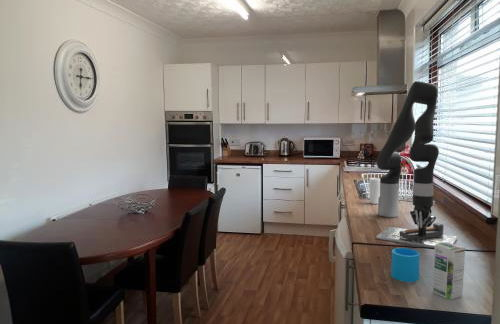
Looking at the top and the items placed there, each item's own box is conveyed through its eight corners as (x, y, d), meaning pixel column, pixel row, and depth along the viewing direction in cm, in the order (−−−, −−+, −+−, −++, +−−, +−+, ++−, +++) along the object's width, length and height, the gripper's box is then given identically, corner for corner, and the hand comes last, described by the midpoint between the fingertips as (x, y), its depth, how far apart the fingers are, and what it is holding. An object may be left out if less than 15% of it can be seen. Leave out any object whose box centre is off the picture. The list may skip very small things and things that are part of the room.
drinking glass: (380, 202, 232) (381, 178, 230) (380, 205, 226) (381, 179, 224) (369, 202, 234) (369, 177, 233) (368, 204, 228) (369, 179, 226)
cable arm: (436, 231, 166) (436, 222, 166) (447, 235, 161) (447, 225, 160) (399, 235, 161) (399, 226, 160) (409, 239, 155) (409, 230, 155)
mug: (422, 282, 118) (423, 257, 117) (394, 281, 119) (395, 256, 118) (411, 268, 130) (412, 244, 129) (386, 266, 131) (387, 243, 130)
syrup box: (431, 292, 111) (433, 243, 110) (445, 288, 114) (447, 240, 112) (449, 300, 106) (451, 249, 105) (463, 296, 109) (466, 246, 107)
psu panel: (376, 238, 162) (376, 235, 162) (388, 228, 177) (388, 226, 177) (450, 250, 146) (450, 247, 146) (457, 238, 161) (457, 236, 160)
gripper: (443, 196, 148) (441, 240, 150) (419, 191, 161) (419, 231, 162) (426, 197, 147) (425, 241, 148) (404, 192, 159) (403, 233, 161)
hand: (422, 236), depth 155 cm, fingers closed
